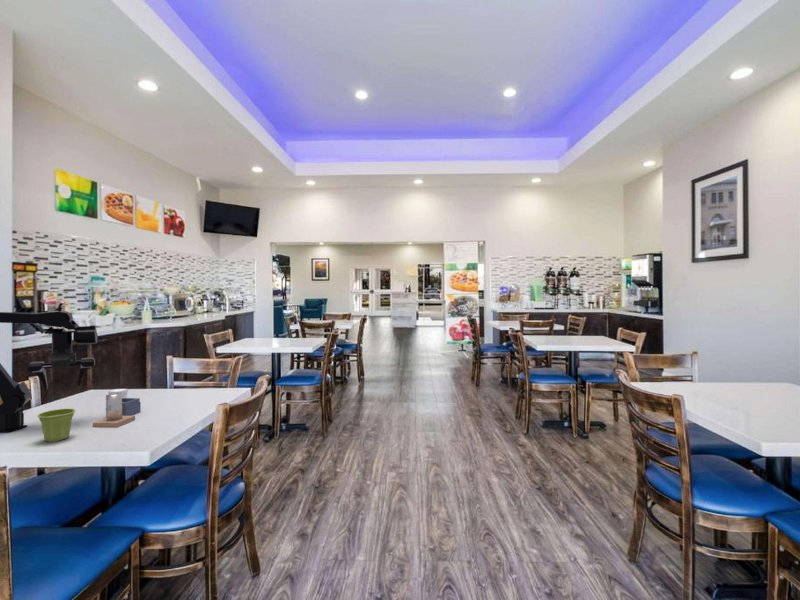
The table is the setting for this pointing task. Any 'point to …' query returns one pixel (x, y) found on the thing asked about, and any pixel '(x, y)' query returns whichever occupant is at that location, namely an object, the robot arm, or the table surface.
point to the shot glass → (123, 391)
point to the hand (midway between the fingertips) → (63, 387)
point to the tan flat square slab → (113, 422)
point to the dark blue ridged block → (130, 406)
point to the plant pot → (56, 424)
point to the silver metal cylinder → (113, 406)
